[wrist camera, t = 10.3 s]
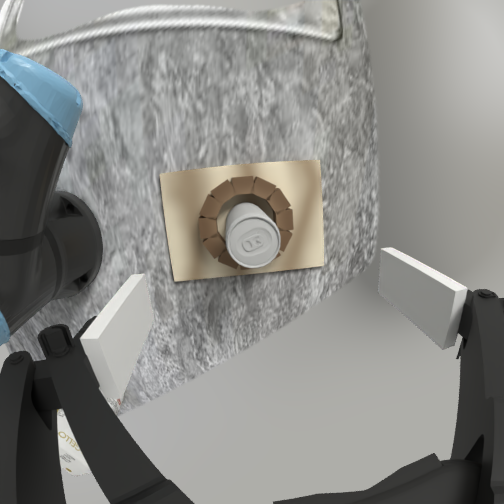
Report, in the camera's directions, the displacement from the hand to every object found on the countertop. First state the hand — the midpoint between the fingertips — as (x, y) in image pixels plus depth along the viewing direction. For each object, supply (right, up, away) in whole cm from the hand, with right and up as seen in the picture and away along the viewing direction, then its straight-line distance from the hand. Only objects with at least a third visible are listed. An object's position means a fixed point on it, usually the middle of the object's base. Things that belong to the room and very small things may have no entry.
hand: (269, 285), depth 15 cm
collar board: (-2, +6, +22) cm, 22 cm away
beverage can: (-2, +6, +21) cm, 22 cm away
